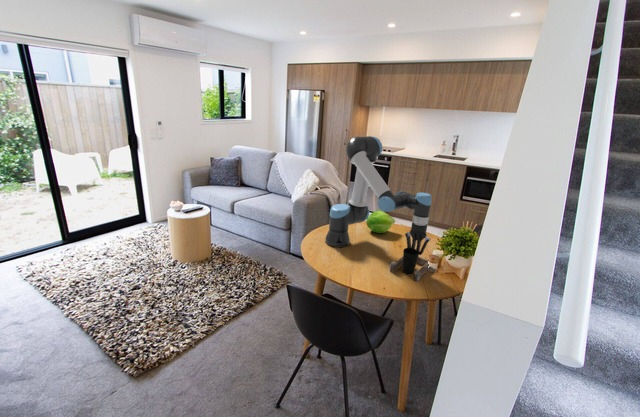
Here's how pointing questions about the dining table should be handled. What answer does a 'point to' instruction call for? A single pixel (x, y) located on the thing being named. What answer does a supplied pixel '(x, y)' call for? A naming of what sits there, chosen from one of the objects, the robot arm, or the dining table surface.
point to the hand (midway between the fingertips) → (413, 264)
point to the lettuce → (379, 222)
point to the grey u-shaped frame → (418, 274)
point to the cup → (409, 260)
